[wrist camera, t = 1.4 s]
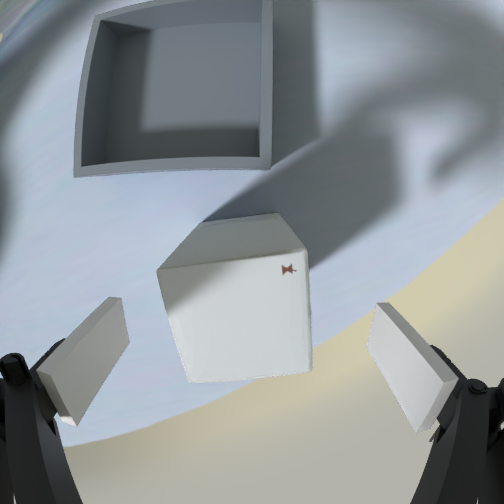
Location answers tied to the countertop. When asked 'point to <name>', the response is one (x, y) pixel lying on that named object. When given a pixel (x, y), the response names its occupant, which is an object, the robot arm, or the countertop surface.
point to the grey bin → (177, 88)
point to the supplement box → (239, 300)
